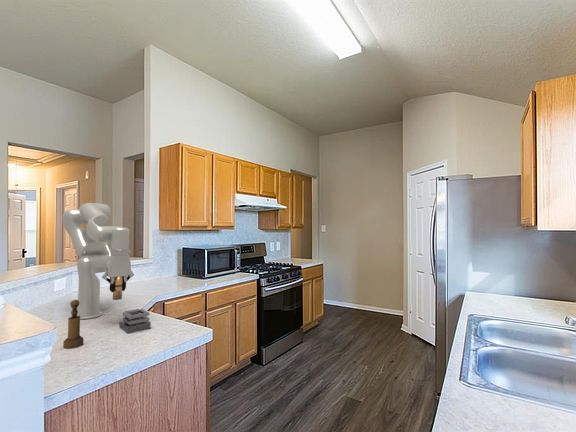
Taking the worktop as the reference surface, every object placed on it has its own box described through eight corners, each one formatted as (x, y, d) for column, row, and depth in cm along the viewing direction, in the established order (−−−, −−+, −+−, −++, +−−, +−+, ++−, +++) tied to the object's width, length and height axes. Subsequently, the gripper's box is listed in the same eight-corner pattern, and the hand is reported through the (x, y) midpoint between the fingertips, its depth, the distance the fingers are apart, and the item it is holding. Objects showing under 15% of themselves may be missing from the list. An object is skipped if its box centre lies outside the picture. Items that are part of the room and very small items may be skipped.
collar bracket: (119, 327, 145) (119, 311, 145) (141, 323, 152) (141, 307, 152) (127, 333, 137) (128, 316, 137) (150, 328, 144) (150, 312, 144)
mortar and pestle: (60, 349, 119) (61, 302, 120) (67, 343, 125) (68, 298, 126) (80, 347, 121) (81, 301, 121) (85, 341, 127) (87, 297, 128)
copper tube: (111, 298, 149) (112, 275, 149) (120, 297, 151) (121, 274, 152) (114, 300, 146) (115, 277, 146) (123, 299, 149) (124, 276, 149)
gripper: (135, 251, 157) (133, 287, 157) (97, 253, 146) (95, 292, 145) (140, 253, 152) (138, 290, 152) (102, 254, 140) (100, 295, 140)
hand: (117, 290), depth 149 cm, fingers closed on copper tube, 4 cm apart
